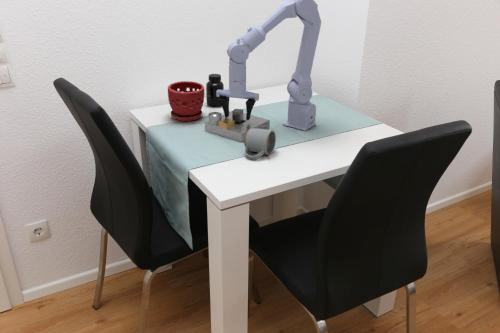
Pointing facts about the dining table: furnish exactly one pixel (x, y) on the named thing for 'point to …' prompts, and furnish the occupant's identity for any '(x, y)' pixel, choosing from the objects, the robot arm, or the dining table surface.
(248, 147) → the ceramic mug
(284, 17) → the robot arm
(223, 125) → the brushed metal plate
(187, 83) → the plant pot
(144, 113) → the dining table surface
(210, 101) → the supplement bottle
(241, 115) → the metal block
